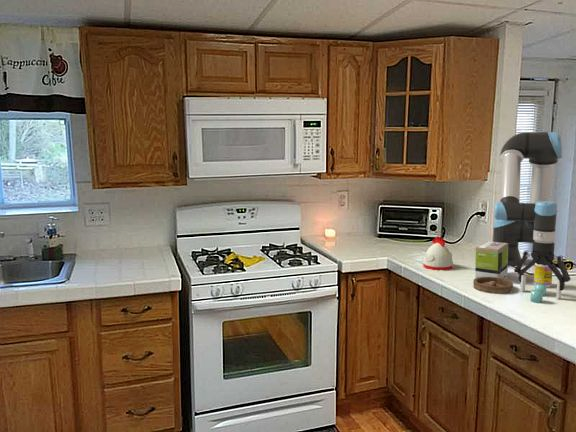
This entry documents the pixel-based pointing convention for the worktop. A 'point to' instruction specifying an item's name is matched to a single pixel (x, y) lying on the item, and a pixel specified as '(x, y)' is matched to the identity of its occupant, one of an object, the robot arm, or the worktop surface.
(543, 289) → the teal bead
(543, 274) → the supplement bottle
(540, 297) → the teal bead
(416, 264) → the worktop surface
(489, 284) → the walnut tray
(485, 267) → the tea box
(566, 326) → the worktop surface
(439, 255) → the kitchen timer
